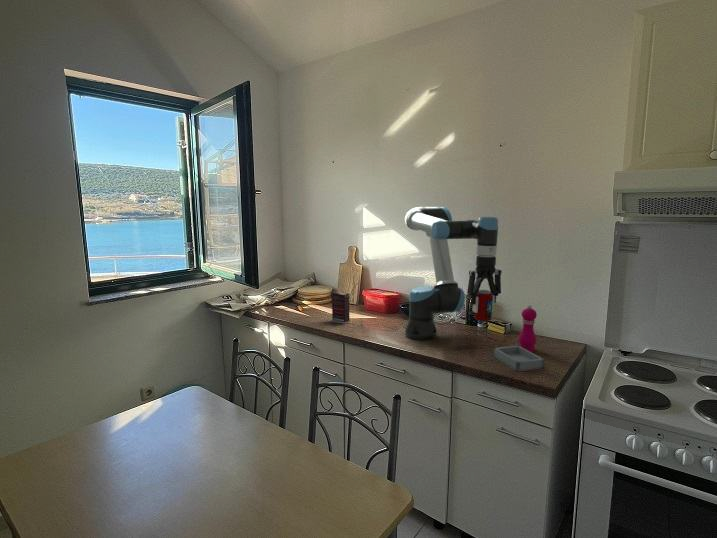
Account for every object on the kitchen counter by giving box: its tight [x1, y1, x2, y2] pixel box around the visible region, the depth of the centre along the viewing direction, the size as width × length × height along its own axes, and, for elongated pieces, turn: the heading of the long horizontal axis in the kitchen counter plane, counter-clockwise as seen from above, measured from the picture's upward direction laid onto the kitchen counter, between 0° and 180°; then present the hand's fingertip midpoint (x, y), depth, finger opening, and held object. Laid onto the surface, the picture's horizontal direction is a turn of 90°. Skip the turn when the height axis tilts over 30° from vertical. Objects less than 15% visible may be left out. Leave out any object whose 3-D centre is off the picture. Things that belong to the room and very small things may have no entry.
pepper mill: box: [517, 304, 538, 353], centre depth 176 cm, size 7×7×20 cm
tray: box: [492, 345, 546, 372], centre depth 164 cm, size 16×12×4 cm
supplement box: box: [331, 291, 351, 325], centre depth 218 cm, size 9×5×16 cm, turn 56°
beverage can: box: [473, 289, 493, 323], centre depth 166 cm, size 7×7×12 cm
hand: (483, 311), depth 167 cm, fingers closed on beverage can, 7 cm apart
